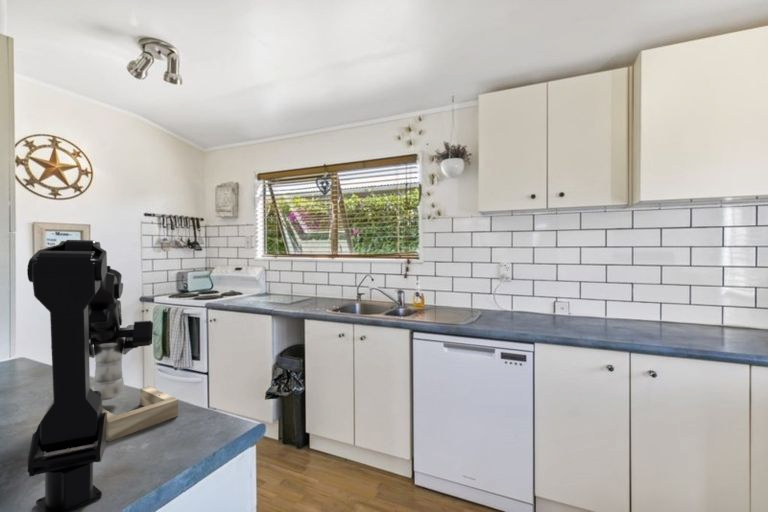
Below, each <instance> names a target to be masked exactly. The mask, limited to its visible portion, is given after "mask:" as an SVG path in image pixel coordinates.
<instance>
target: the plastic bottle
mask: <svg viewBox="0 0 768 512" xmlns="http://www.w3.org/2000/svg"><path fill="white" fill-rule="evenodd" d="M124 342H125V337H124V338H119V339H118V341H117V343H107V344H95V345H93V347H94V352H95V357H94V358H95V359H94V360H95V361H94V362H95V371H94V380H93V381H92V382H93V383H92V387H91V389H92V390H93V391H99V392H100V393H101V395H102V401H108V400H112V399H115V398H118V397H119V396H121V395H122V394H123V392H124V389H125V380H124V377H123V365H122V364H123V349H124Z"/></svg>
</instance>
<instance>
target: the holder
mask: <svg viewBox="0 0 768 512" xmlns="http://www.w3.org/2000/svg"><path fill="white" fill-rule="evenodd" d="M159 395H160V396H159ZM139 405H141V406H142V407H139V408H136V409H133V410H131V411H127V412H124V413H121V414H117V415H115V414H114V413H113V412H111V411H108V410H106V409H105V408H103V413H104V412H107V430H106V441H108V442H111V441H114V440H117V439H120V438H122V437H125V436H128V435H130V434H131V435H132V434H133V433H136V432H138V431H141V430H144V429H146V428H149V427H152V426H155V425H158V424H160V423H163V422H165V421H168V420H170V419H171V420H172V419H173V418H176V417H178V416H179V398H176V397H174V396H172V395H170V394H167V393H165V392H163V391H160V390H158V389H156V388H154V387H152V386H149V385H148V386H145V387H144V386H143V387H141V388H139Z"/></svg>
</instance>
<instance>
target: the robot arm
mask: <svg viewBox="0 0 768 512" xmlns="http://www.w3.org/2000/svg"><path fill="white" fill-rule="evenodd" d="M107 257H108V255H107V251H106V250H105V249H104V248H102V247H101V243H100V241H95V240H93V239H91V240H89V239H88V240H87V239H66V240H61V241H60V243H58V244H56V245H53V246H49V247H45V248H42V249H39V250H37V251H36V253H35V254H33V255H32V257H31V258H29V260H28V263H27V270H26V273H27V274H26V275H27V279H28V281H29V283H32V289H33V296H34V297H35V299H36V300H37V301H39V303H40V304H41V305H42V306H43V307H44V308H45V309H46V310H47V311H48V312H49V317H50V318H49V319H50V342H51V344H50V349H51V368H52V369H51V370H52V391H53V392H52V393H53V394H52V395H53V400H52V401H51V402H50V404H49V405H48V407H47V409H46V411H45V412H44V415H43V416H42V419H41V421H40V422H39V423H38V425H37V427H36V430H35V432H34V433H33V434H32V437H31V442H30V447H29V451H28V458H27V473H28V475H29V478H31V477H35V476H37V475H42V474H44V475H45V476H44V477H45V478H44V482H45V484H44V487H45V488H44V496H43V497H41V498H39V499H38V498H37V499H36V501H35V506H37V508H38V509H39V510H40V511H41V512H72V511H74V510H76V509H78V508H80V507H83V506H84V505H87V504H88V503H91V502H93V501H95V500H97V499H100V498H101V497H102V496H103V492H102V490H100V489H99V488H98V487H96V485H94V463H100V462H102V459H103V456H104V453H105V450H106V442H107V440H106V430H107V412H104V413H103V409H104V406H103V400H102V395H101V393H100V392H99V391H93V390H92V387H91V385H90V384H91V383H90V381H91V380H90V378H91V377H90V375H91V374H90V358H92V359H94V358H95V352H94V345H95V344H107V343H117V341H118V339H119V338H124V337H125V342H124V348H123V354H122V356H125V355H127V354H128V352H130V351H132V350H133V349H138V348H139V347H147V346H151V345H152V344H153V335H154V322H153V321H152V320H138V321H133V324H129V325H127V326H126V327H121V326H122V324H123V319H122V318H123V317H122V302H121V300H119V299H120V298H121V296H122V295H123V290H124V283H123V282H122V278H123V277H122V276H123V275H122V273H120V272H119V271H118V270H116V269H114V268H111V265H108V258H107ZM95 444H96V445H95ZM90 445H95V446H90ZM86 446H90V447H86ZM78 447H83V448H79V449H74V448H78ZM84 447H85V448H84ZM69 449H74V450H70V451H69ZM63 450H68V451H64V452H59V451H63ZM53 452H59V453H53ZM45 453H46V454H48V455H45ZM49 453H53V454H50V455H49Z"/></svg>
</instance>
